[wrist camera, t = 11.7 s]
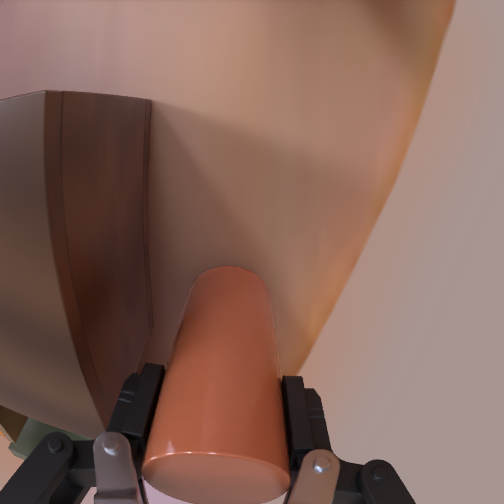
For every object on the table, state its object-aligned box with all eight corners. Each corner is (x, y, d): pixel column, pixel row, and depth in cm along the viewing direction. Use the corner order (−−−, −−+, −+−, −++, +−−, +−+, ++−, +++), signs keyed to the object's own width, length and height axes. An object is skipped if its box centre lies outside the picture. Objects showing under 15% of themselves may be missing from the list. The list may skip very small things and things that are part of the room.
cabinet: (153, 326, 19) (111, 444, 11) (8, 300, 19) (-58, 374, 10) (151, 99, 14) (46, 89, 6) (-17, 119, 13) (-122, 145, 5)
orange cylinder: (188, 341, 19) (155, 504, 9) (187, 261, 17) (126, 440, 7) (264, 347, 19) (275, 514, 9) (277, 269, 17) (307, 456, 7)
